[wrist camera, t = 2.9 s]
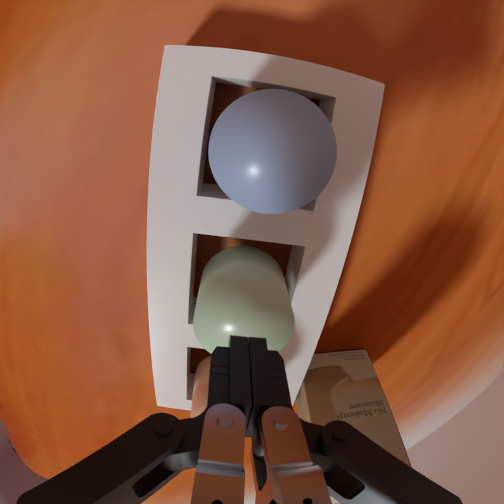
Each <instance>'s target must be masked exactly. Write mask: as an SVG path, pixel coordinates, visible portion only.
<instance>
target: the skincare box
mask: <svg viewBox="0 0 504 504" xmlns="http://www.w3.org/2000/svg"><path fill="white" fill-rule="evenodd" d="M296 402H297V409H298V415H299V417H300V418H301V419H302V420H304V421H306V422H309V423H313V424H317V425H322V426H325V425H326V424H327V423H329V422H331V421H335V420H340V421H344V422H347V423H349V424H350V425H352V426H353V427H354V428H356V429H357V430H359V431H360V432H361V433H363V434H364V435H365V436H367V437H368V438H369V439H371V440H372V441H374V442H375V443H376V444H378V445H379V446H381V447H382V448H384V449H385V450H386V451H388V452H389V453H391V454H392V455H394V456H395V457H396V458H398V459H399V460H401V461H402V462H404V463H405V464H407V465H408V466H410V467H411V464H410V461H409V458H408V455H407V452H406V449H405V447H404V444H403V441H402V438H401V435H400V433H399V430H398V427H397V425H396V422H395V419H394V417H393V414H392V411H391V409H390V406H389V404H388V401H387V399H386V396H385V394H384V391H383V389H382V387H381V384H380V382H379V379H378V377H377V374H376V372H375V369H374V367H373V365H372V362H371V360H370V358H369V356H368V353H367V351H366V350H352V351H341V352H330V353H320V354H313V356H312V359H311V362H310V364H309V367H308V369H307V372H306V374H305V377H304V379H303V382H302V384H301V387H300V389H299V392H298V394H297V396H296ZM411 468H412V467H411ZM330 498H331V502H332V503H336V502H338V501H337V500H335V499H334V498H333V497H332V496H330Z"/></svg>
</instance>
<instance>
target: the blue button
mask: <svg viewBox="0 0 504 504" xmlns="http://www.w3.org/2000/svg"><path fill="white" fill-rule="evenodd" d="M208 155H209V163H210V167H211V171H212V173H213V176H214V178H215V180H216V182H217V184H218V185H219V187H220V188H221V189H222V191H223V192H224V193H225V194H226V195H227V196H228V197H229V198H230V199H232V200H233V201H234V202H236V203H237V204H239V205H240V206H242V207H244V208H246V209H249V210H252V211H255V212H259V213H264V214H281V213H286V212H290V211H294V210H297V209H299V208H301V207H303V206H305V205H307V204H308V203H310V202H311V201H312V200H314V199H315V198H316V197H317V196H318V195H319V194H320V193H321V192H322V191H323V190H324V188H325V187H326V186H327V184H328V182H329V181H330V179H331V177H332V174H333V172H334V169H335V165H336V159H337V144H336V138H335V134H334V131H333V128H332V126H331V124H330V122H329V120H328V118H327V117H326V116H325V114H324V113H323V112H322V110H321V109H320V108H319V107H318V106H317V105H316V104H314V103H313V102H312V101H310V100H309V99H307V98H306V97H304V96H302V95H300V94H297V93H295V92H292V91H288V90H283V89H263V90H257V91H254V92H250V93H248V94H246V95H244V96H242V97H240V98H238V99H237V100H235V101H234V102H232V103H231V104H230V105H229V106H228V107H227V108H226V109H225V110H224V111H223V112H222V113H221V115H220V116H219V118H218V119H217V121H216V123H215V125H214V127H213V129H212V132H211V135H210V140H209V148H208Z"/></svg>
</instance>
